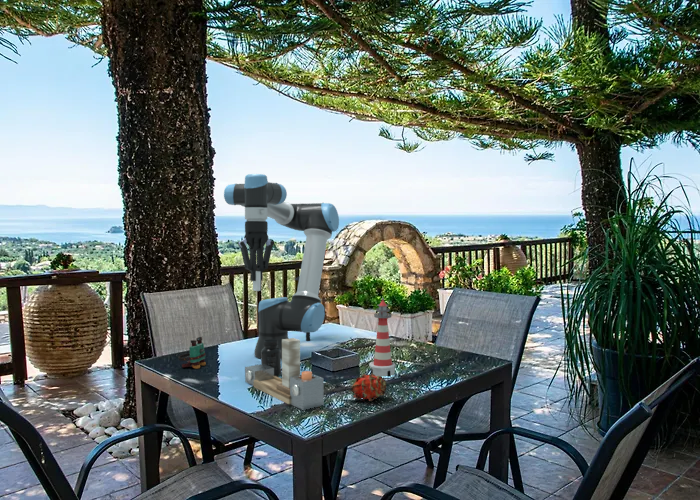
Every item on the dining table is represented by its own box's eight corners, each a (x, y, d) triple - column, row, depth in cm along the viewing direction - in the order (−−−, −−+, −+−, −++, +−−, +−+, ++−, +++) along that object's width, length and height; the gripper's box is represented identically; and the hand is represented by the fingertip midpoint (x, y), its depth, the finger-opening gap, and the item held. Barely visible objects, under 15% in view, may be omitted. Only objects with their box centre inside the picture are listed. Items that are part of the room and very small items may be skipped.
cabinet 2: (310, 399, 164) (310, 373, 163) (323, 405, 158) (323, 378, 158) (288, 404, 159) (288, 377, 159) (301, 410, 154) (301, 382, 153)
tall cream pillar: (292, 387, 171) (291, 336, 170) (306, 393, 164) (305, 340, 164) (276, 390, 167) (276, 338, 167) (290, 397, 161) (289, 343, 160)
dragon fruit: (390, 403, 165) (352, 413, 161) (381, 381, 171) (344, 390, 168) (393, 386, 159) (354, 395, 156) (383, 364, 165) (345, 372, 162)
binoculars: (183, 337, 208) (207, 335, 206) (186, 364, 209) (210, 363, 207) (171, 342, 200) (196, 340, 198) (174, 370, 200) (199, 369, 198)
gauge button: (308, 390, 161) (308, 370, 161) (313, 393, 158) (313, 372, 158) (299, 392, 159) (299, 372, 159) (305, 395, 157) (305, 374, 156)
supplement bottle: (284, 372, 194) (284, 339, 194) (275, 377, 188) (275, 343, 187) (266, 371, 196) (266, 338, 196) (257, 376, 190) (257, 341, 189)
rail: (275, 382, 182) (275, 375, 181) (311, 399, 164) (311, 391, 164) (253, 386, 177) (253, 379, 177) (288, 404, 159) (288, 396, 159)
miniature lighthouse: (377, 380, 184) (377, 292, 183) (364, 374, 192) (364, 289, 191) (400, 377, 188) (400, 290, 187) (386, 370, 196) (386, 288, 195)
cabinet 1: (263, 378, 187) (263, 363, 187) (274, 382, 181) (273, 368, 181) (243, 382, 182) (243, 367, 182) (253, 386, 177) (253, 371, 176)
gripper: (243, 220, 176) (244, 292, 177) (278, 220, 184) (279, 290, 185) (233, 220, 182) (234, 290, 183) (267, 220, 190) (268, 288, 191)
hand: (256, 290), depth 184 cm, fingers closed
